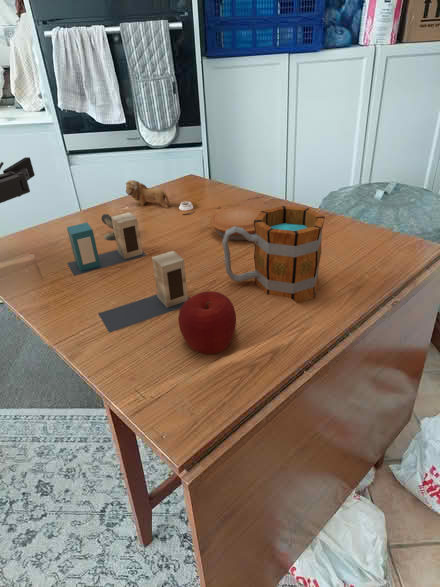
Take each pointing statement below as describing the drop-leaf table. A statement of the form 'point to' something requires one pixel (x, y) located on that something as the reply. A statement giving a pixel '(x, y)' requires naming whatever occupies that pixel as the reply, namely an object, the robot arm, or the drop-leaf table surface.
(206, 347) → the apple
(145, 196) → the lion figurine
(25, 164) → the robot arm
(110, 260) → the board
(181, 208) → the white jar
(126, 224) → the letter
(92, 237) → the teal upright block
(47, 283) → the drop-leaf table surface
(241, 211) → the pie
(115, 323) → the front word board
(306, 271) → the mug
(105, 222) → the eagle figurine
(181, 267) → the cream upright block
